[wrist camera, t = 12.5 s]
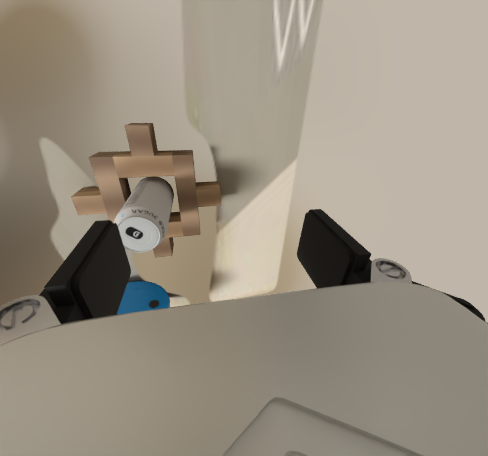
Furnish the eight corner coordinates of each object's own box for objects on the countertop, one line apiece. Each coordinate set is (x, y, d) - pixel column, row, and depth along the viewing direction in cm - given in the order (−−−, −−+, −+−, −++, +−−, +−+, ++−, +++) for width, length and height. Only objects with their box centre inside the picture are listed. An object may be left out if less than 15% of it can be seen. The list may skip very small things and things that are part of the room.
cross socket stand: (58, 123, 30) (42, 125, 27) (215, 123, 34) (218, 125, 31) (105, 250, 41) (98, 263, 38) (220, 239, 45) (222, 250, 42)
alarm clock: (108, 300, 47) (78, 373, 34) (105, 279, 44) (70, 349, 31) (171, 298, 50) (165, 363, 38) (172, 278, 48) (165, 341, 35)
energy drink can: (162, 213, 40) (149, 263, 27) (130, 195, 37) (99, 242, 24) (180, 188, 38) (175, 229, 26) (148, 167, 36) (124, 201, 23)
